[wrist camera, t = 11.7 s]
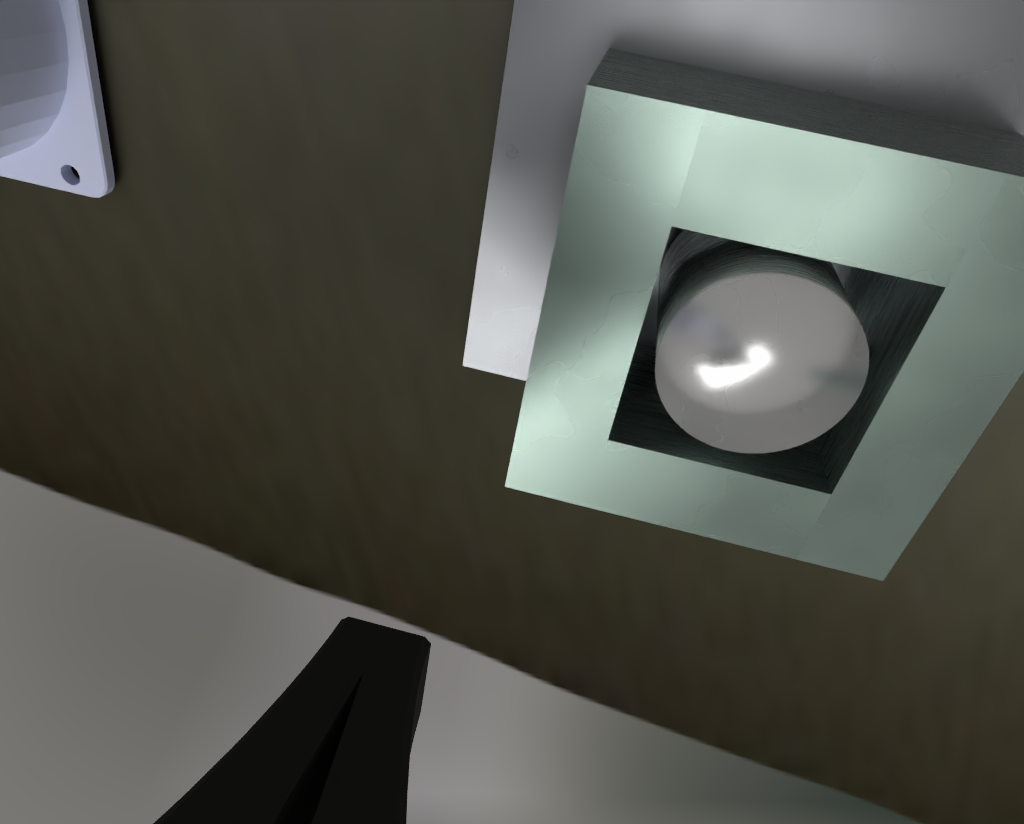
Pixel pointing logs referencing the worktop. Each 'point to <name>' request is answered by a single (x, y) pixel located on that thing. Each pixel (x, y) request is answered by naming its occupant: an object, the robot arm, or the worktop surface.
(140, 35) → the worktop surface
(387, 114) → the worktop surface
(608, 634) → the worktop surface
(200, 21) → the worktop surface
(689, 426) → the press pin
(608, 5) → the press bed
